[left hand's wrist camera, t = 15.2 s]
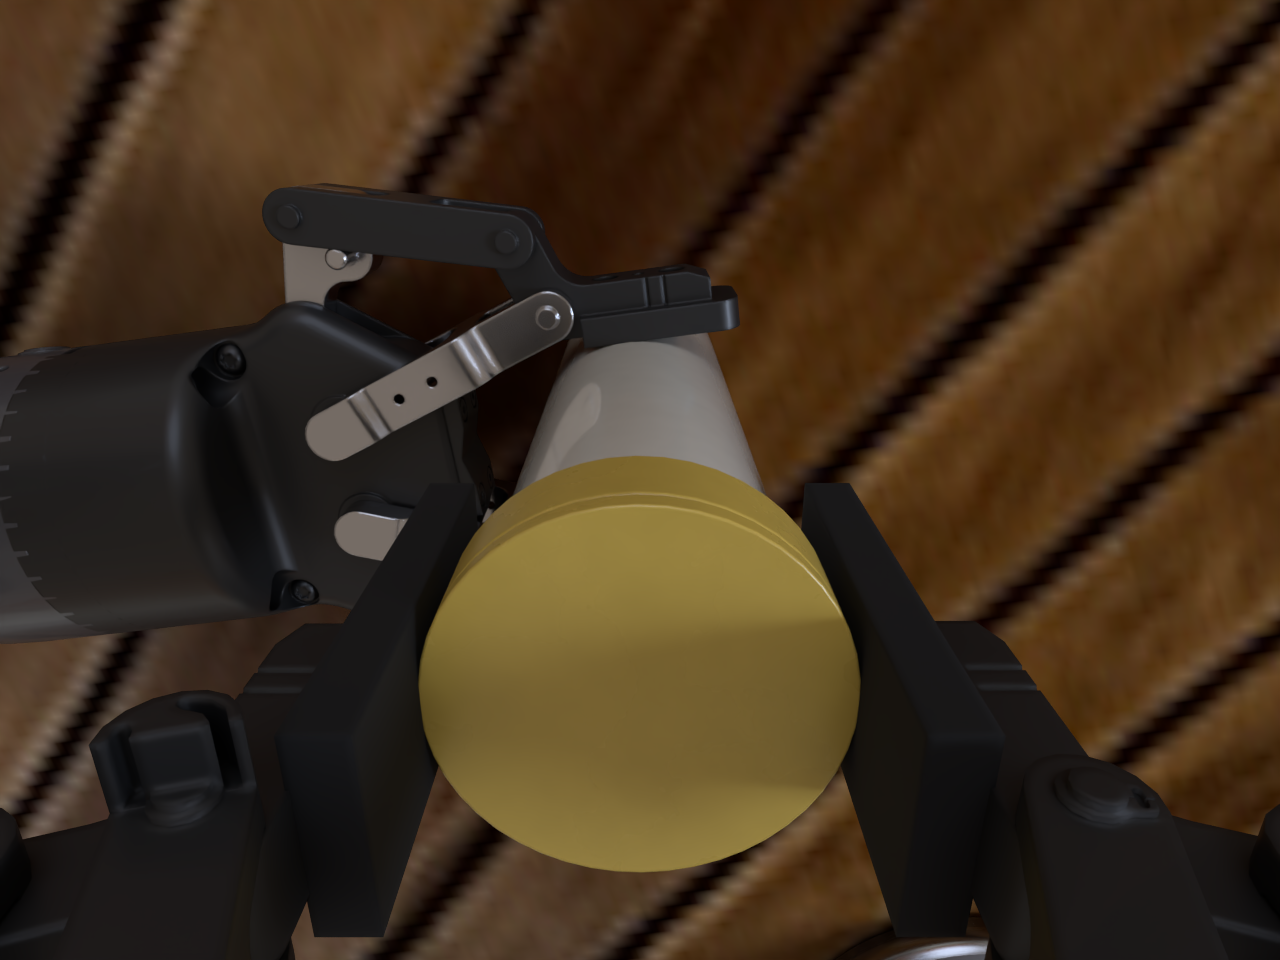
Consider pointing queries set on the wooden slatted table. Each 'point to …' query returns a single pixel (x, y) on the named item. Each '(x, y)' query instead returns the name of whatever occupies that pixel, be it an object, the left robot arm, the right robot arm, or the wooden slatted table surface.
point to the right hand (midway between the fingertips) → (741, 412)
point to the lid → (639, 667)
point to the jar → (640, 409)
